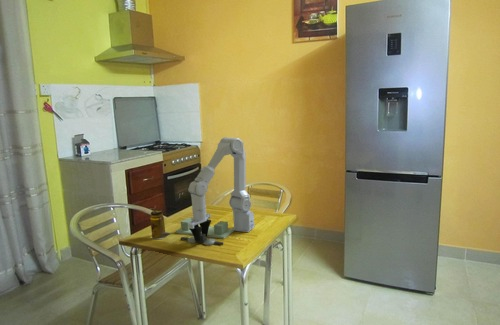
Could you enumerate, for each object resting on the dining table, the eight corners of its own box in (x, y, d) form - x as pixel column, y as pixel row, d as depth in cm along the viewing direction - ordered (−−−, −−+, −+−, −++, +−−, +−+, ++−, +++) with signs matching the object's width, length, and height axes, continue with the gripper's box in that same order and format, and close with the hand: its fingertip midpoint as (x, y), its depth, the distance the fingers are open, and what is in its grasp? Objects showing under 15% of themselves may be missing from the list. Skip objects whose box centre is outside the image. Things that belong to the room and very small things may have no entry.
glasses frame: (225, 242, 143) (225, 235, 142) (220, 247, 138) (219, 239, 138) (184, 237, 151) (184, 230, 150) (178, 241, 146) (177, 234, 146)
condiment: (148, 238, 152) (145, 213, 150) (159, 231, 160) (157, 207, 158) (161, 240, 149) (158, 214, 147) (172, 233, 157) (170, 208, 155)
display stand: (234, 231, 156) (233, 220, 155) (224, 238, 147) (223, 228, 146) (187, 225, 166) (186, 216, 165) (175, 232, 157) (174, 222, 156)
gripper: (200, 203, 150) (202, 232, 152) (181, 213, 137) (184, 244, 139) (213, 204, 147) (215, 233, 150) (196, 214, 134) (198, 246, 136)
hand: (201, 238), depth 144 cm, fingers open, 5 cm apart
